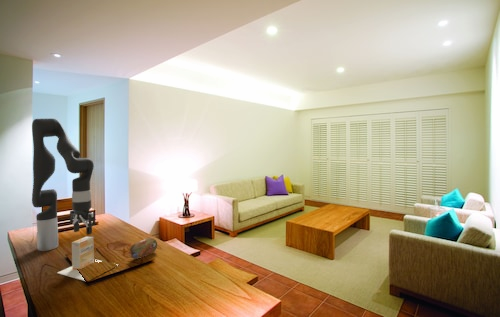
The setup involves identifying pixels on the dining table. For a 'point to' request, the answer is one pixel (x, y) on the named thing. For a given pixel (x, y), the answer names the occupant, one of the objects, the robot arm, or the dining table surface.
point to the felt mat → (74, 272)
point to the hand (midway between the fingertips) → (82, 232)
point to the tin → (143, 248)
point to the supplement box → (82, 252)
